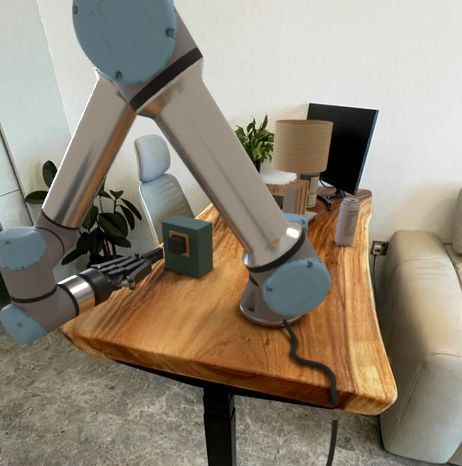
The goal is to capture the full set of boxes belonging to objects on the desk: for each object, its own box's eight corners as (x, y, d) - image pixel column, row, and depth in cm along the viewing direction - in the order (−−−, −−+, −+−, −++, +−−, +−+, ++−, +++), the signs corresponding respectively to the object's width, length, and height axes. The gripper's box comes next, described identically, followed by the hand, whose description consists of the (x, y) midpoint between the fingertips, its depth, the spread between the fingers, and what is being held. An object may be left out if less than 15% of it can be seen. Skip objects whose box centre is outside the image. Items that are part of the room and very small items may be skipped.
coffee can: (296, 208, 154) (299, 174, 147) (290, 201, 163) (293, 169, 156) (318, 207, 156) (323, 174, 148) (311, 201, 164) (315, 169, 157)
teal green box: (198, 279, 97) (196, 230, 90) (164, 268, 102) (160, 221, 95) (213, 269, 102) (212, 222, 95) (180, 259, 107) (177, 214, 100)
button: (180, 255, 93) (179, 241, 91) (168, 251, 95) (167, 237, 93) (191, 248, 97) (190, 235, 95) (180, 245, 99) (179, 232, 97)
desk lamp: (307, 233, 128) (321, 125, 110) (259, 223, 137) (265, 122, 118) (325, 219, 142) (340, 121, 124) (280, 210, 151) (289, 118, 133)
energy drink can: (345, 239, 124) (353, 196, 116) (355, 245, 119) (365, 201, 111) (330, 241, 122) (337, 197, 114) (340, 247, 117) (349, 203, 109)
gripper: (67, 298, 77) (143, 260, 94) (109, 316, 71) (182, 272, 88) (59, 267, 73) (140, 233, 90) (103, 284, 67) (180, 244, 84)
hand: (161, 252), depth 89 cm, fingers closed
